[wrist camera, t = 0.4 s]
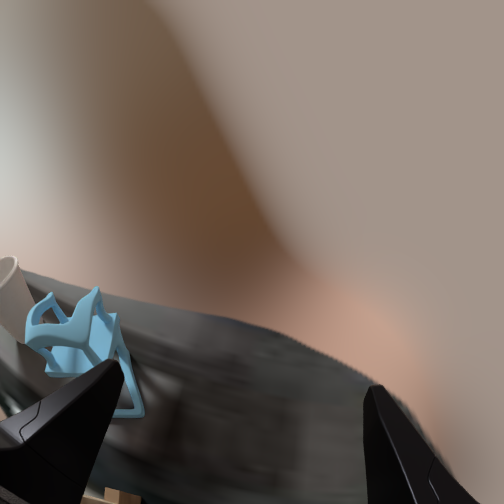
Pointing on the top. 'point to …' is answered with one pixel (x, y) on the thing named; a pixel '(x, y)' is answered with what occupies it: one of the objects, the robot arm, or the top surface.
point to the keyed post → (112, 498)
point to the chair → (82, 343)
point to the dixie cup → (14, 299)
